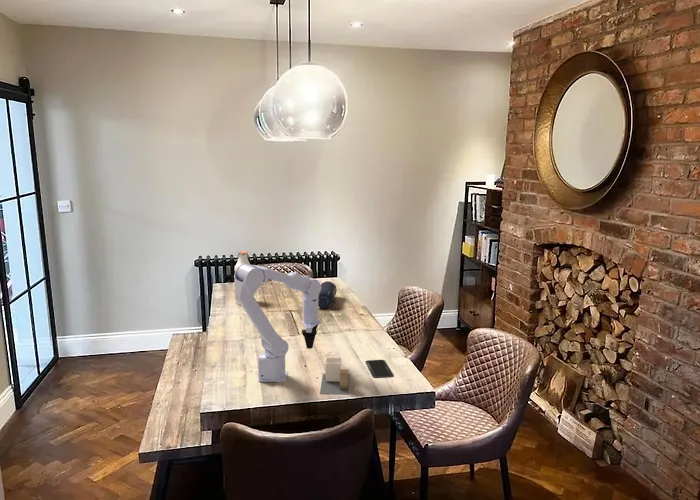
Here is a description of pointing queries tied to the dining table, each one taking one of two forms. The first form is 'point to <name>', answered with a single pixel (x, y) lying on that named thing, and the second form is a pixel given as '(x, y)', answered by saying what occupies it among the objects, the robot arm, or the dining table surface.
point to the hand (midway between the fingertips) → (310, 344)
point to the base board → (333, 387)
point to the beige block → (333, 369)
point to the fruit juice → (241, 260)
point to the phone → (379, 369)
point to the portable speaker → (326, 294)
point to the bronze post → (343, 379)
